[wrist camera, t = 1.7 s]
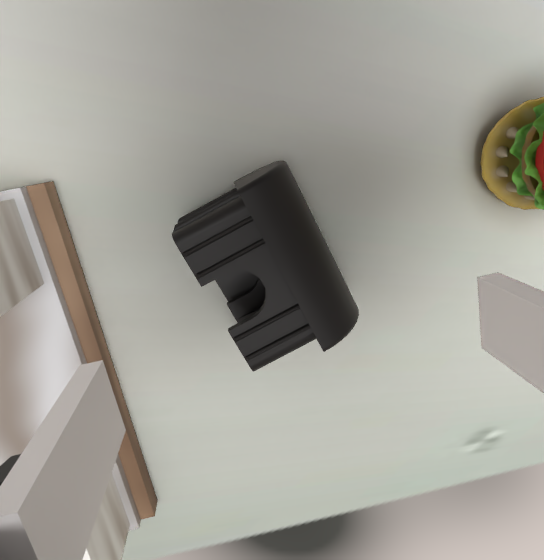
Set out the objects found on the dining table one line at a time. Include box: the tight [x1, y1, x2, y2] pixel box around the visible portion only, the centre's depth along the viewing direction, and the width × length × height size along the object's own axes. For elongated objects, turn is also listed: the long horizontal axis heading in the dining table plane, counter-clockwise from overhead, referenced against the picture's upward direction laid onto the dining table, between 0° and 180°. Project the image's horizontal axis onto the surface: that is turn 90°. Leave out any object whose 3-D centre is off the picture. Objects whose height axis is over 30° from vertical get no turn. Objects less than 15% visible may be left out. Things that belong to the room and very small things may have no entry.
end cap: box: [172, 161, 359, 371], centre depth 26 cm, size 10×7×7 cm
